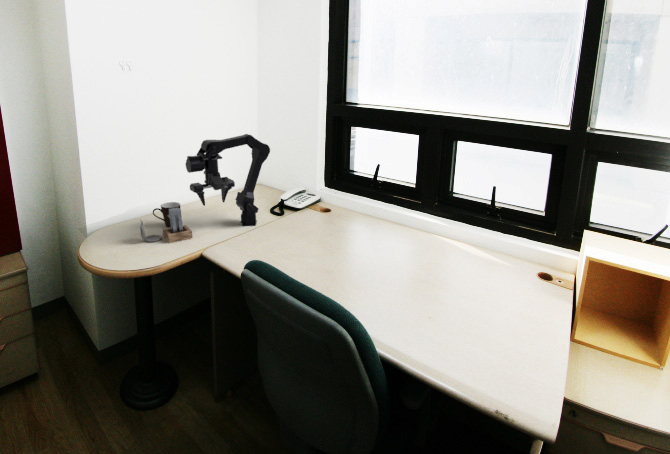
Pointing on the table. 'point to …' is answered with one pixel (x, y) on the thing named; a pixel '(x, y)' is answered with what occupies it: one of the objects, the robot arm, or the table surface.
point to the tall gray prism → (175, 220)
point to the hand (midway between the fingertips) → (213, 203)
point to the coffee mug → (167, 212)
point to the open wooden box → (177, 234)
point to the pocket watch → (148, 238)
